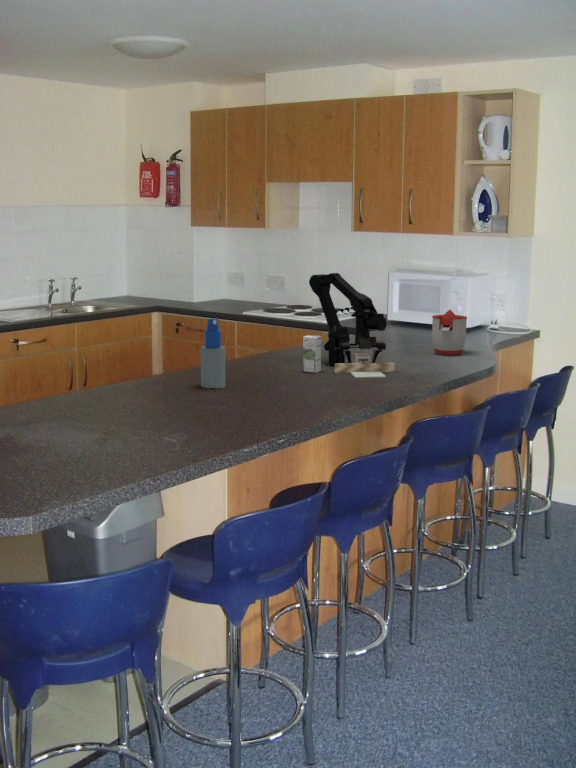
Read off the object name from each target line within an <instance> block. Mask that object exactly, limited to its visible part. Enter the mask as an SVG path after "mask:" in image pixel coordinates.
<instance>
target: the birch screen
mask: <svg viewBox="0 0 576 768" xmlns="http://www.w3.org/2000/svg"><path fill="white" fill-rule="evenodd" d="M395 364H396V363H395V362H375V363H372V362H370V363H353V362H351V363H349V362H348V363H347V362H345V363H335V366H334V374H335V373H336V374H338V373H339V374H340V373H345V374H346V373H351V372H381V373H395Z"/></svg>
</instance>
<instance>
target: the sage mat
mask: <svg viewBox="0 0 576 768" xmlns="http://www.w3.org/2000/svg"><path fill="white" fill-rule="evenodd" d="M350 374H351V375H352V376H353V377H354V378H356V379H358V378H359V379H360V378H363V379H365V378H366V379H367V378H387V376H386V375H385V374H384V372H350Z"/></svg>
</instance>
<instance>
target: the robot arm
mask: <svg viewBox="0 0 576 768" xmlns="http://www.w3.org/2000/svg"><path fill="white" fill-rule="evenodd" d="M308 284H309V286H310V288H311V291H312V292H313V293H314V294H315V295H316V296H317V297H318V300H319V304H320V307H321V309H322V311H323V314H324V317H325V320H326V323H327V327H328V332H327V333H328V334H327V337H328V340H327V342H326V343H324V345H323V348H324V351H327V362H326V364H327V365H328V366H333V367H335V363H346V359H347V362H348V363H352V357H351V354H352V353H351V352H352V351H351V350H350V349H359V350H371V349H372V356H371V363H376V361H377V358H378V356H379V354H380V353H382V352H383V350H387V344H386V343H385V342H384V341H383V340H377V337H376V336H370V335H371V333H370V330H372V331H377V332H384V331H385V330H386V328H387V326H388V322H387V319H386V317H384V313H378V311H377V309H376V307H375V305H374V303H373V300H372V298H370V296H368V295H365V294H363V293H360V292H359V291H357V290H356V289H355V288H354V287H353V286H352V285H351V284H350V283H349V282H348V281H347V280H345V278H344V277H342V275H341V274H340V273H338V272H331V273H328V274H325V273H322V274H320V273H319V274H312V275H311V276H310V278H309V280H308ZM331 285H333V286H334V287H335V289H337V290H338V291H339V292H340V293H341V294H343V296H344V297H345V298H346V299H348V301H349V304H350V306H351V308H352V309H353V311H354V312H353V313H352V314H351V315H350V317H352V318H355V327H354V328H355V330H354V331H355V332H354V333H355V334H354V343H352V342H350V340H351V338H350V336H351V335H350V333H349V330H348V327H347V326H344V327H343V326H342V325H341V322H340V319H339V317H338V314H337V311H336V307H335V305H334V302H333V300H332V299H333V298H332V296H331V293H330V291H331Z"/></svg>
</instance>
